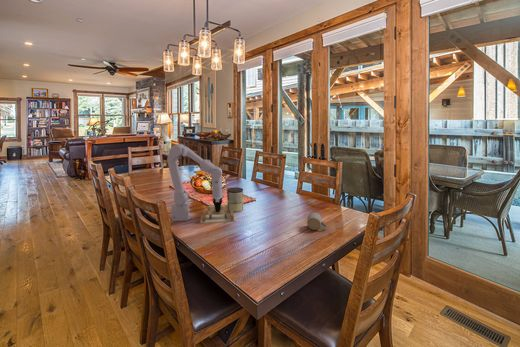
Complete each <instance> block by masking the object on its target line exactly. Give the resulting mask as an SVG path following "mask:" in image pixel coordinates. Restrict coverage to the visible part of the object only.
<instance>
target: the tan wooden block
mask: <svg viewBox="0 0 520 347" xmlns="http://www.w3.org/2000/svg"><path fill="white" fill-rule="evenodd" d="M206 210H207V215H221V214H229V212H228V204H221V207H220V212H216V210H215V206H214V204H213V205H212V204H210V205H209V204H207V209H206Z"/></svg>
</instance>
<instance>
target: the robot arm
mask: <svg viewBox="0 0 520 347" xmlns="http://www.w3.org/2000/svg"><path fill="white" fill-rule="evenodd" d="M168 150H169V151H168V156H167V158H166V162H167V166H168V170H169V173H170V177H171V181H172V185H173V188H174V190H173V196H174V198H173V203H174V204H171V221H172V222H183V221H187V222H188V221H189V219H190V217H191V215H189V203H188V200H189V194H188V192H187V191H186V188H185V187H184V184H183V180H182V175H181V172H180V168H179V164H178V160H179V159H180V158H181V157H188V158H190V159H192V160H193V161H194V162H196V163H197V164H199V165H200V168H201V169H202V170H203V171H205V172H207V173H208V174H209V175H210V176H211V180H212V181H211V185H212V186H211V189H212V193H211V194H212V196H211V198H212V203H213V205H214V206H215V210H216V212H220V207H221V205H223V204H222V203H223V198H224V197H225V195H224V194H223V176H222V175H223V170H222V168H221V167H219V166H218V165H216V164H214V163H212V161H211V160H210V159H204V158H202V157H201V156H199V154H197V153H196V152H194V151H193V150H192V149H191V148H189V147H188V146H186V145H184V144H183V143H178V144H175V145H173V146H171V147H170V148H169V149H168Z"/></svg>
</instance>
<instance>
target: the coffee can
mask: <svg viewBox="0 0 520 347" xmlns="http://www.w3.org/2000/svg"><path fill="white" fill-rule="evenodd" d="M226 193H227V194H226V199H227V200H226V201H227V205H228V213H230V210H233V214H237V213H242V212H243V211H244V189H243V188H242V187H238V186H237V187H229V188H227V189H226Z"/></svg>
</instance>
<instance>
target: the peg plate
mask: <svg viewBox="0 0 520 347" xmlns="http://www.w3.org/2000/svg"><path fill="white" fill-rule="evenodd" d="M235 214H236V213H233V210H230V212H229V213H228V214H218V215H208V214H207V211H206V210H203V211H202V215H201V216H200V224H206V223H207V224H210V223H229V222H233V223H234V222H236V221H237V220H236V215H235Z"/></svg>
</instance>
